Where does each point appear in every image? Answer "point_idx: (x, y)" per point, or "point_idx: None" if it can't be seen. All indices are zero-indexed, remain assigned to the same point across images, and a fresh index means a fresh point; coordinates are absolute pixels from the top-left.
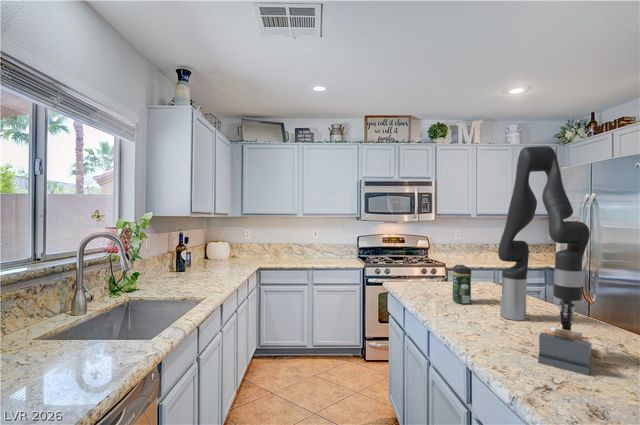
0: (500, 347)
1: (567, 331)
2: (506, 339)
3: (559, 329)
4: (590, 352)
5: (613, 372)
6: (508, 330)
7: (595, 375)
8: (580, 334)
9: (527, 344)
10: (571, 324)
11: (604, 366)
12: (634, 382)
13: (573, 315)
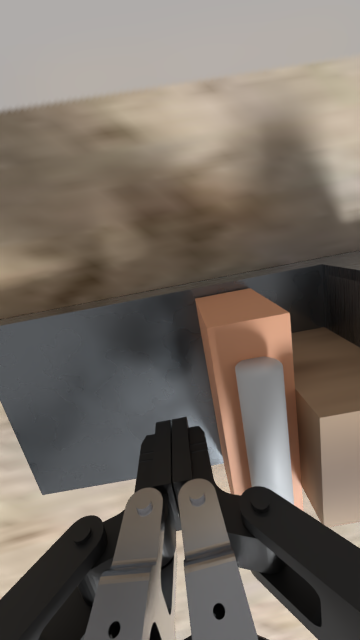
0: None
1: (342, 459)
2: None
3: (329, 506)
4: (136, 299)
5: (249, 171)
6: None
7: (354, 225)
8: (283, 379)
9: None
10: (199, 498)
11: (197, 221)
12: (315, 62)
13: (148, 614)
